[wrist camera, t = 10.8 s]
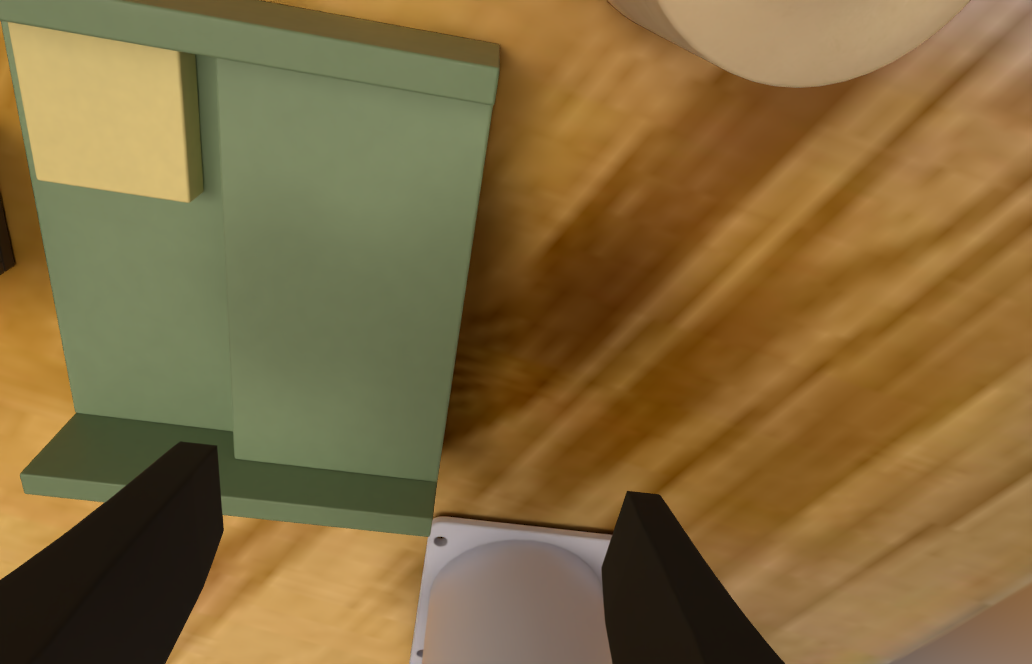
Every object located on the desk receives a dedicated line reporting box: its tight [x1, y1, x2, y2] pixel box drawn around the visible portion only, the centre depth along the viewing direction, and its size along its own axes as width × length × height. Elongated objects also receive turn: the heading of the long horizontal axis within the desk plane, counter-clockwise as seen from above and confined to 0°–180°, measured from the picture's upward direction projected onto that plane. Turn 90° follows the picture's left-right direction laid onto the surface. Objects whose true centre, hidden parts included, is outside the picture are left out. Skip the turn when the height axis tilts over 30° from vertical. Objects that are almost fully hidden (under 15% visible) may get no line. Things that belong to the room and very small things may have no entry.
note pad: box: [8, 22, 204, 203], centre depth 17 cm, size 4×4×1 cm
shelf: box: [0, 0, 500, 537], centre depth 19 cm, size 14×12×4 cm
